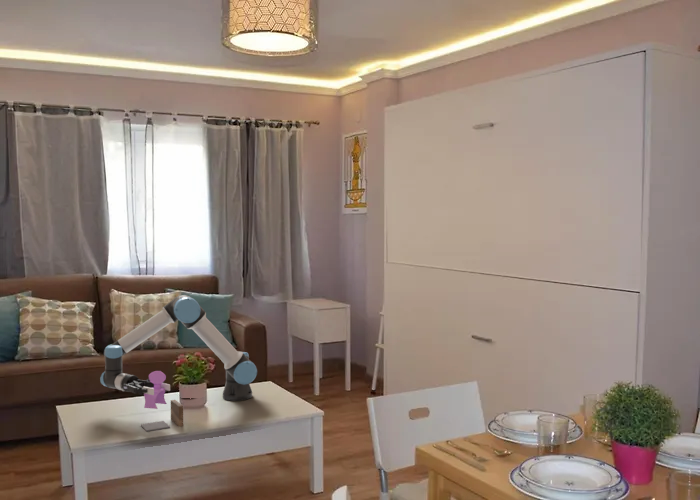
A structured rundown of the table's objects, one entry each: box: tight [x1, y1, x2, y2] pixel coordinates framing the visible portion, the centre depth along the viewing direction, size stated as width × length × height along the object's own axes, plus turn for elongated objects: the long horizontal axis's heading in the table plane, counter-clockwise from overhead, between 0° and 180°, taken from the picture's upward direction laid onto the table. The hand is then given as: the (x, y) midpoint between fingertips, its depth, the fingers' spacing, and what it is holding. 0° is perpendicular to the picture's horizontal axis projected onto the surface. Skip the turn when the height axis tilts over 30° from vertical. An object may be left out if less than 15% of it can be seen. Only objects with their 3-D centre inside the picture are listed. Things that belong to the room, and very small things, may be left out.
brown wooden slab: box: [170, 399, 184, 427], centre depth 297 cm, size 2×12×9 cm, turn 32°
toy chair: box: [143, 370, 167, 410], centre depth 291 cm, size 8×9×15 cm
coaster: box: [140, 420, 171, 432], centre depth 292 cm, size 10×10×1 cm
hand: (161, 389), depth 288 cm, fingers closed on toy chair, 8 cm apart
